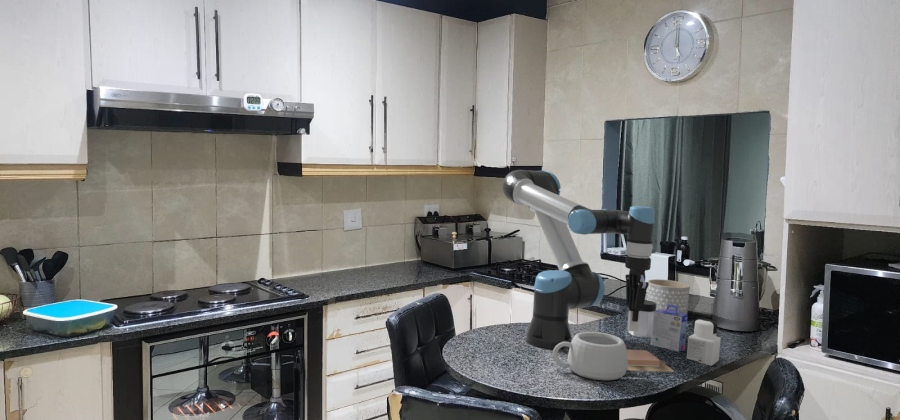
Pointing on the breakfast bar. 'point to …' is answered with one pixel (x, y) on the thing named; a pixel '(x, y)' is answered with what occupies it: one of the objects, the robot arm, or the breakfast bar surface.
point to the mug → (595, 356)
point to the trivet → (651, 367)
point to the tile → (641, 358)
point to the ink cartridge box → (669, 329)
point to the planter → (668, 294)
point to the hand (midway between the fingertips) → (632, 330)
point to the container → (704, 342)
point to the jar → (645, 320)
